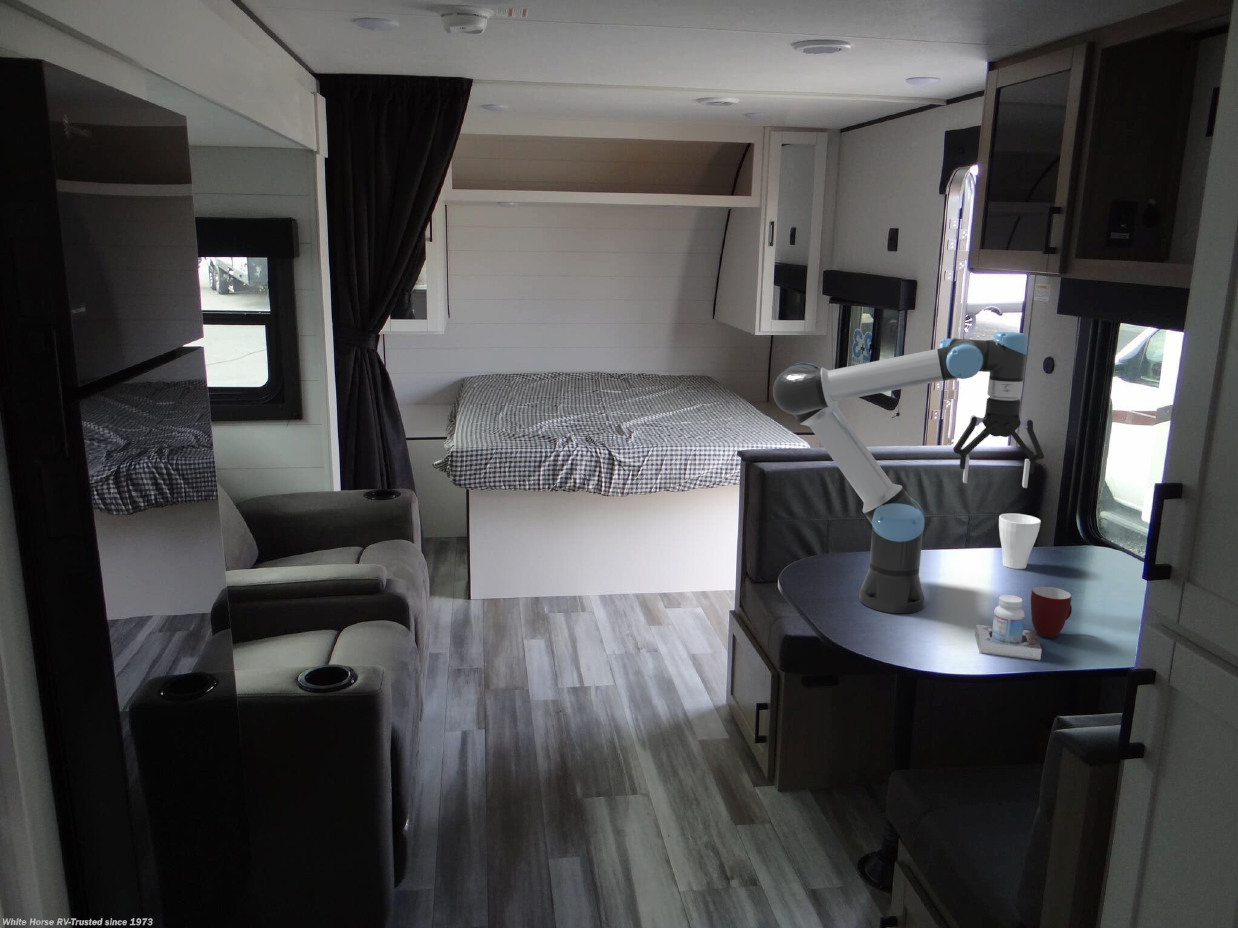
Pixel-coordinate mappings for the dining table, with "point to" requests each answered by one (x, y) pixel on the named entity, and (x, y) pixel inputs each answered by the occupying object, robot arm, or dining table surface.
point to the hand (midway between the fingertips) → (994, 484)
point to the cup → (1017, 538)
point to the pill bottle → (1008, 620)
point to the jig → (1008, 644)
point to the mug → (1049, 610)
